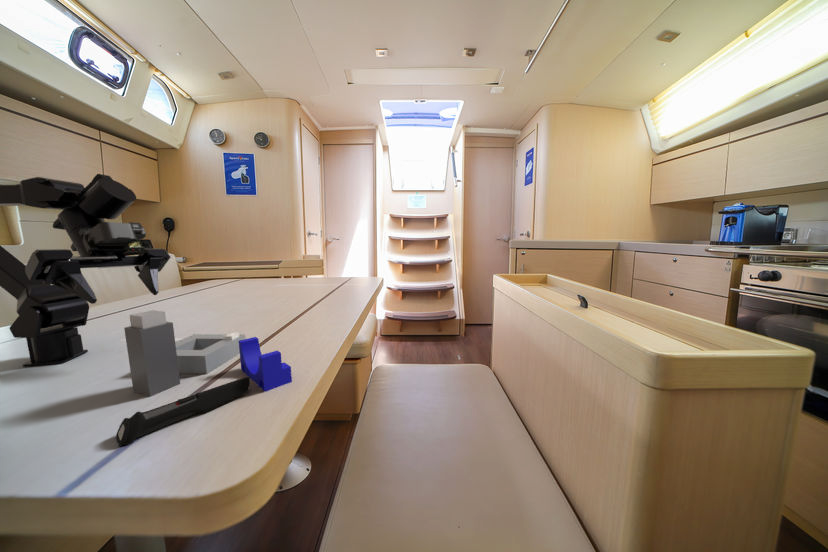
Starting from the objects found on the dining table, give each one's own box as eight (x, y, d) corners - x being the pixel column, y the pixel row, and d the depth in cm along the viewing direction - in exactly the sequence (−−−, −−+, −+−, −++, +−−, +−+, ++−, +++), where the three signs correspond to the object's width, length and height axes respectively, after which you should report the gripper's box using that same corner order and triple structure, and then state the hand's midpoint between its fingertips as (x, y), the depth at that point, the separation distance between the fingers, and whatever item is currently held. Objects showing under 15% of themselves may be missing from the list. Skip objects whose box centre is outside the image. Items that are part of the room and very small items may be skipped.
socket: (145, 373, 54) (142, 351, 54) (195, 348, 66) (193, 330, 66) (206, 373, 54) (204, 351, 53) (246, 349, 66) (244, 331, 65)
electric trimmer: (255, 397, 46) (254, 378, 46) (119, 451, 35) (116, 426, 34) (246, 390, 49) (244, 372, 48) (115, 438, 37) (112, 415, 37)
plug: (133, 391, 48) (122, 315, 46) (164, 379, 52) (155, 309, 50) (150, 396, 46) (139, 317, 44) (180, 383, 50) (171, 311, 48)
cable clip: (291, 382, 50) (289, 350, 50) (264, 393, 47) (261, 358, 46) (265, 363, 59) (263, 334, 58) (241, 370, 55) (238, 340, 55)
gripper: (27, 198, 45) (71, 277, 43) (163, 211, 63) (199, 268, 61) (7, 243, 49) (47, 318, 47) (142, 244, 66) (175, 298, 64)
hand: (128, 297), depth 54 cm, fingers open, 9 cm apart
